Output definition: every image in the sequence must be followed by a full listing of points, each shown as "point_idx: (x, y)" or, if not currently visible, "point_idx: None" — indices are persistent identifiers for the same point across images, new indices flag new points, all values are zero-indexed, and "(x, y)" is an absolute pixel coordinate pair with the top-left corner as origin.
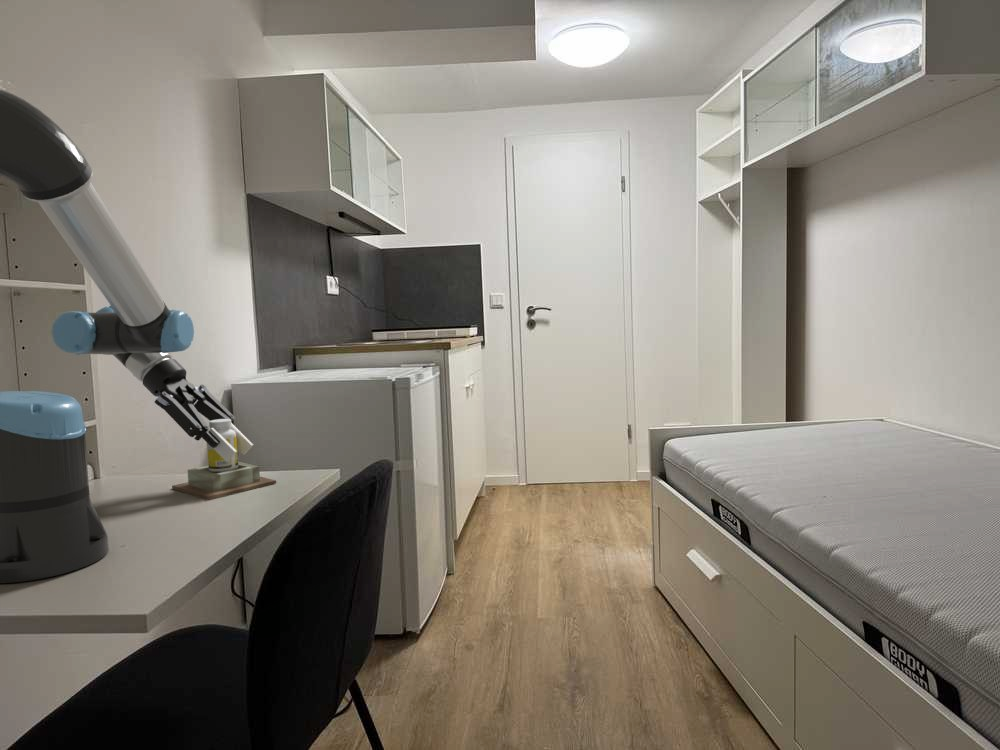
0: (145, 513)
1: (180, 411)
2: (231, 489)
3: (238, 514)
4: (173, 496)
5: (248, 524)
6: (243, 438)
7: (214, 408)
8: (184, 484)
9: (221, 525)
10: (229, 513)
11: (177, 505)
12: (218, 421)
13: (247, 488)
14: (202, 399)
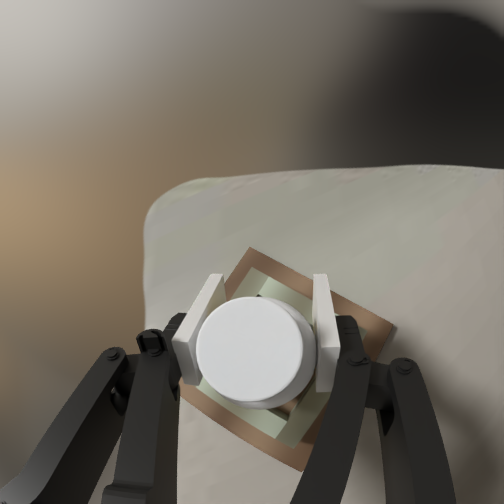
0: (472, 384)
1: (444, 463)
2: (334, 306)
3: (446, 216)
4: (368, 425)
5: (468, 183)
6: (215, 293)
7: (142, 420)
8: (290, 450)
9: (484, 215)
10: (447, 233)
11: (429, 364)
12: (278, 341)
13: (312, 281)
14: (148, 494)
